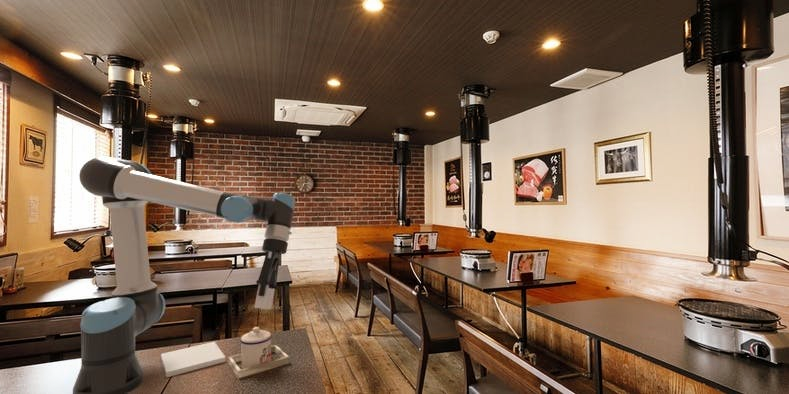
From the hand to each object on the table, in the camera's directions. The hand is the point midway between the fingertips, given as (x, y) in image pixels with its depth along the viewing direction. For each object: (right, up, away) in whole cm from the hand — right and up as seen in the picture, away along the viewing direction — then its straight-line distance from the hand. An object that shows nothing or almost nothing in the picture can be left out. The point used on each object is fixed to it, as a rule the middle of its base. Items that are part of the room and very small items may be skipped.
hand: (263, 308), depth 109 cm
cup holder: (-3, -18, +4) cm, 19 cm away
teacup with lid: (-3, -19, +4) cm, 19 cm away
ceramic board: (-25, -19, +7) cm, 32 cm away
